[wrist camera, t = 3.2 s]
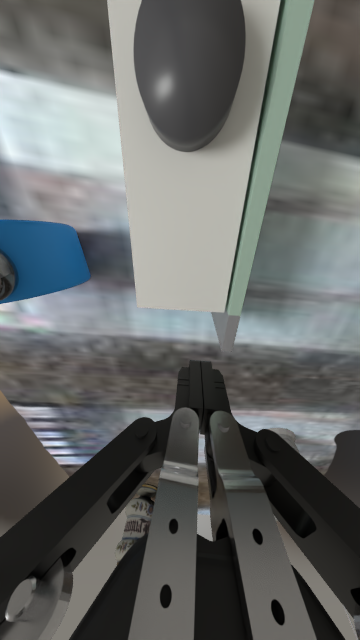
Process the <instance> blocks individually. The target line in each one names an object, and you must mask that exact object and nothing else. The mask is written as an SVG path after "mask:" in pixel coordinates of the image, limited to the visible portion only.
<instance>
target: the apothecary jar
mask: <svg viewBox="0 0 360 640" xmlns="http://www.w3.org/2000/svg"><path fill="white" fill-rule="evenodd" d="M156 493H157V488H156V487H154V486H151V485H147V484H143V485H142V487H141V488H140V489H139V490H138V492H137V494H138V495H140V497H139V498H135V499H133V500H131V501H130V502H129V503H128V504H127V506H126V511H125V513H126V516H127V521H126V526H125V530H124V534H123V537H122V541H120V542H119V544H118V545H117V547H116V550H115V557H116V560H117V565H118V563H119V562H120V560H121V559H122V557H123V556H124V555H125V553H126V552H127V551H128V550H129V548H130V547H131V546H132V545H133V544H134V543H135V542H136V541H137V540H139V539H140V538H141V537H142V536H144V535H146V534H147V533H149V529H150V524H151V519H152V513H153V508H154V503H155V502H154V501H152V500H151V499H150V498H151V497H154V496H156Z"/></svg>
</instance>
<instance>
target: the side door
mask: <svg viewBox="0 0 360 640" xmlns="http://www.w3.org/2000/svg"><path fill="white" fill-rule="evenodd" d="M313 4H314V0H281V1H280V6H279V12H278V17H277V23H276V28H275V34H274V39H273V45H272V51H271V56H270V62H269V67H268V73H267V78H266V84H265V89H264V95H263V101H262V106H261V112H260V117H259V123H258V128H257V134H256V139H255V145H254V150H253V156H252V162H251V167H250V173H249V178H248V184H247V189H246V195H245V200H244V206H243V211H242V217H241V223H240V228H239V234H238V239H237V245H236V250H235V256H234V261H233V267H232V273H231V278H230V284H229V289H228V295H227V300H226V306H225V311H224V313H222V312H211V313H212V317H213V321H214V325H215V328H216V332H217V336H218V340H219V343H220V347H221V351H222V352H232V349H233V345H234V341H235V337H236V332H237V328H238V324H239V319H240V315H241V311H242V307H243V302H244V298H245V294H246V290H247V285H248V281H249V277H250V273H251V268H252V264H253V260H254V255H255V251H256V247H257V243H258V238H259V234H260V230H261V226H262V221H263V217H264V213H265V209H266V204H267V200H268V196H269V191H270V187H271V183H272V179H273V174H274V170H275V166H276V162H277V157H278V153H279V149H280V145H281V140H282V136H283V132H284V127H285V123H286V119H287V115H288V110H289V106H290V102H291V98H292V93H293V89H294V85H295V81H296V76H297V72H298V68H299V63H300V59H301V55H302V51H303V46H304V42H305V38H306V34H307V29H308V25H309V21H310V17H311V12H312V8H313Z"/></svg>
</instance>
